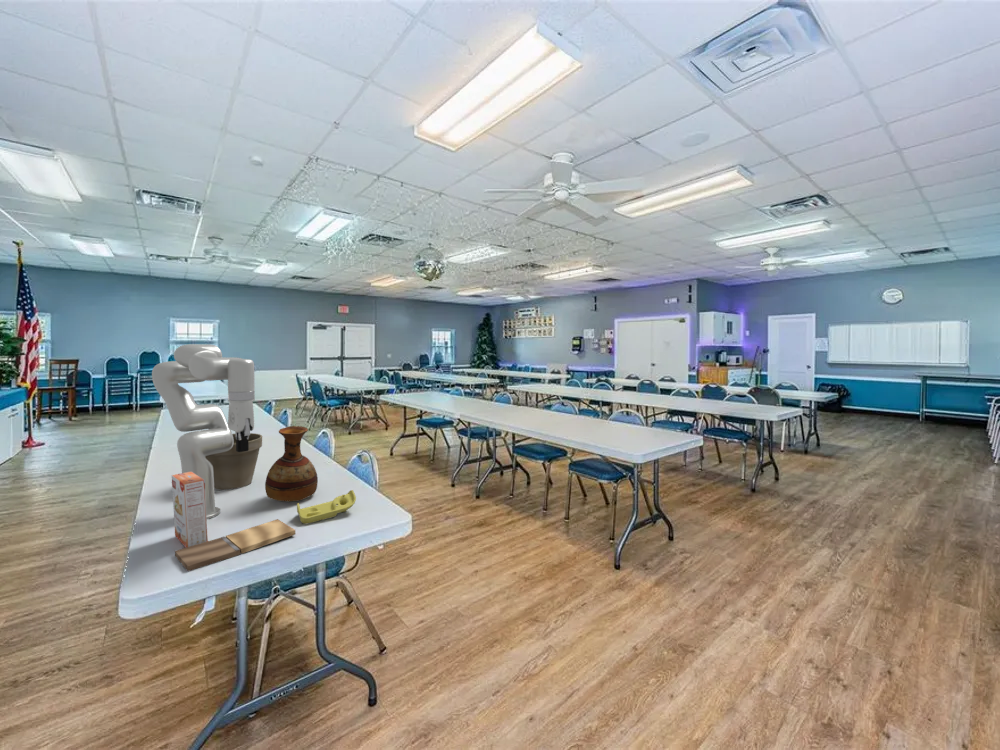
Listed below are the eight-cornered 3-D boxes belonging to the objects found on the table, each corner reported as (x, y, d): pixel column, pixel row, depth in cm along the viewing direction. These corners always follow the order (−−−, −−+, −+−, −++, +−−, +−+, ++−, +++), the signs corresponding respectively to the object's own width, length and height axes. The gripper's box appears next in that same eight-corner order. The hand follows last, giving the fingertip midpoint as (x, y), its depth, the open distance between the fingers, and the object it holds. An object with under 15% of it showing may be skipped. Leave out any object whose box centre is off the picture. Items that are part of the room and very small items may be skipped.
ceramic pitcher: (269, 510, 164) (267, 433, 162) (262, 496, 180) (259, 425, 178) (323, 499, 175) (321, 427, 173) (311, 487, 191) (310, 421, 190)
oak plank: (241, 553, 128) (241, 548, 128) (226, 540, 137) (225, 535, 137) (295, 534, 140) (295, 529, 140) (277, 523, 149) (277, 519, 149)
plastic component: (301, 519, 148) (296, 500, 156) (302, 534, 152) (297, 514, 159) (359, 504, 159) (351, 486, 166) (358, 518, 162) (351, 500, 170)
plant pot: (228, 496, 179) (226, 445, 178) (185, 491, 186) (183, 442, 185) (276, 479, 202) (274, 434, 201) (236, 475, 210) (235, 431, 209)
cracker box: (173, 537, 140) (170, 474, 139) (195, 531, 144) (192, 470, 143) (185, 550, 131) (182, 483, 130) (208, 543, 135) (205, 478, 134)
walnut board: (175, 555, 127) (174, 550, 127) (224, 541, 137) (224, 536, 137) (187, 571, 118) (187, 565, 118) (240, 554, 128) (240, 549, 128)
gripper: (220, 395, 143) (221, 449, 144) (237, 399, 133) (238, 457, 134) (245, 393, 148) (246, 445, 150) (262, 397, 139) (263, 453, 140)
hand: (242, 451), depth 142 cm, fingers closed
